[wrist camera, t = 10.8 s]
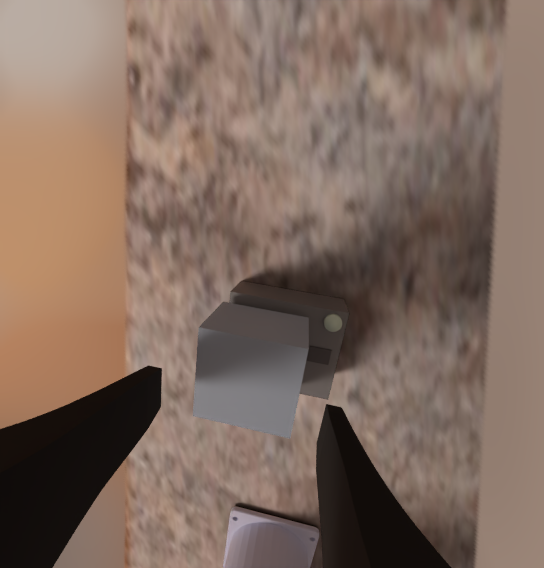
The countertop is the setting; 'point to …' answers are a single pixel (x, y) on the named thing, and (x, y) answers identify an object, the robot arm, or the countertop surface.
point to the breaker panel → (322, 327)
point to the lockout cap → (250, 368)
